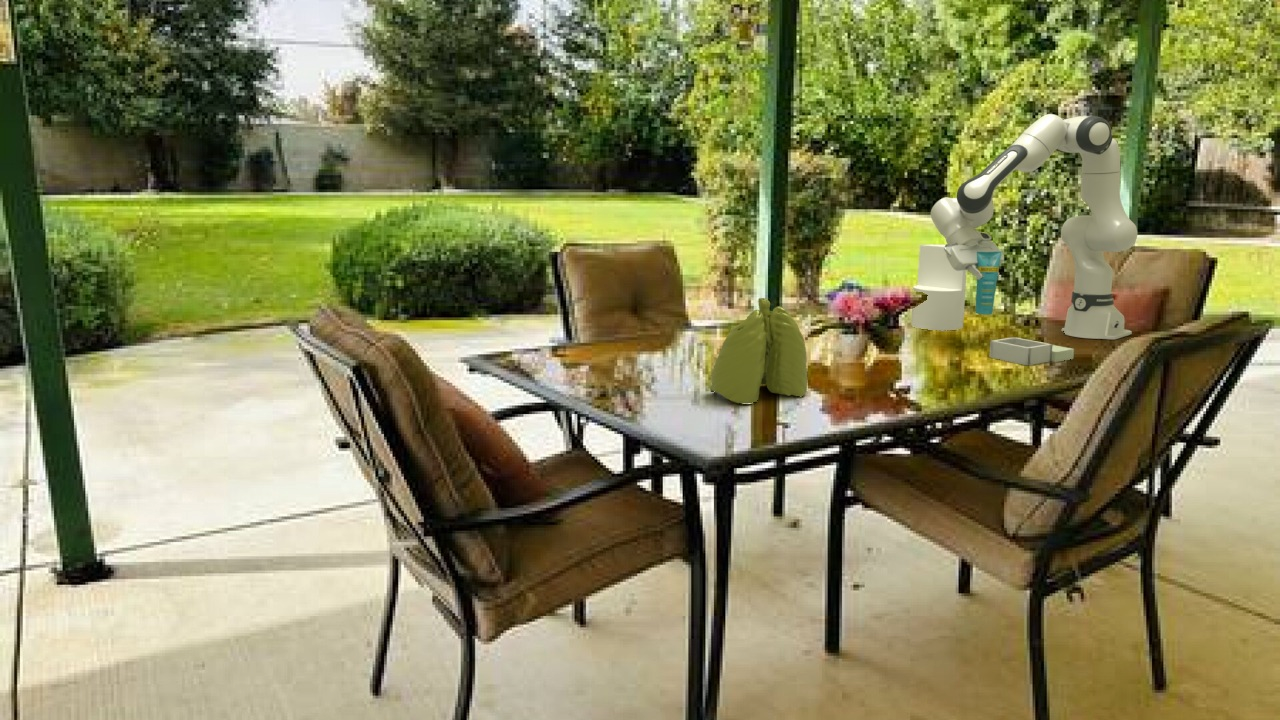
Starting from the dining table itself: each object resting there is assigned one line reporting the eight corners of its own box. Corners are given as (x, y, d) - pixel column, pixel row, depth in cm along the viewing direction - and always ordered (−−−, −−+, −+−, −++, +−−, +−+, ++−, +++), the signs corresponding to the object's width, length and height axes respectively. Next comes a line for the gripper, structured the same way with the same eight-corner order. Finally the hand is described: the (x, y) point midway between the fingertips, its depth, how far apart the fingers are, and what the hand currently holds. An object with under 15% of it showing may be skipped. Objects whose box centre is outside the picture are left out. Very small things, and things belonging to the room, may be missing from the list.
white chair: (929, 320, 329) (933, 243, 323) (972, 327, 316) (978, 246, 310) (900, 326, 318) (905, 246, 312) (944, 333, 305) (950, 250, 299)
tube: (975, 315, 275) (980, 251, 272) (968, 312, 280) (973, 250, 276) (999, 314, 276) (1004, 251, 272) (992, 312, 281) (997, 250, 277)
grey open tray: (1025, 349, 277) (1027, 333, 276) (1073, 359, 264) (1074, 342, 263) (985, 356, 268) (986, 340, 267) (1032, 366, 255) (1033, 349, 254)
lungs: (781, 383, 239) (783, 292, 234) (817, 396, 225) (821, 300, 220) (699, 394, 228) (699, 299, 223) (732, 408, 214) (734, 308, 209)
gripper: (947, 238, 274) (972, 273, 268) (993, 234, 284) (1017, 268, 278) (935, 251, 279) (959, 286, 273) (980, 247, 289) (1004, 280, 283)
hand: (989, 277), depth 275 cm, fingers closed on tube, 5 cm apart
